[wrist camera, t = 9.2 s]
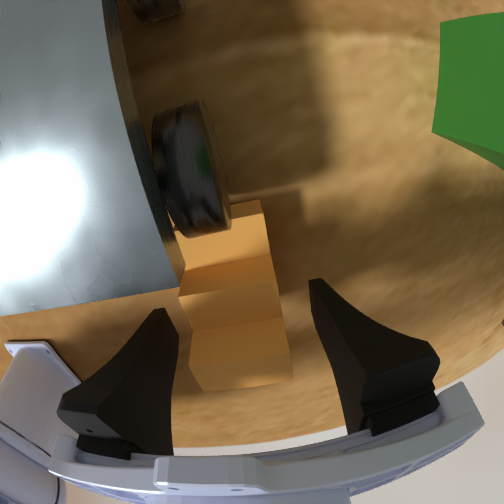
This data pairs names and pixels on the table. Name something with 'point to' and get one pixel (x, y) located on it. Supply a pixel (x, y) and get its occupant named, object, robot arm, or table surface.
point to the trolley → (93, 162)
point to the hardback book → (472, 85)
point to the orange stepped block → (234, 305)
